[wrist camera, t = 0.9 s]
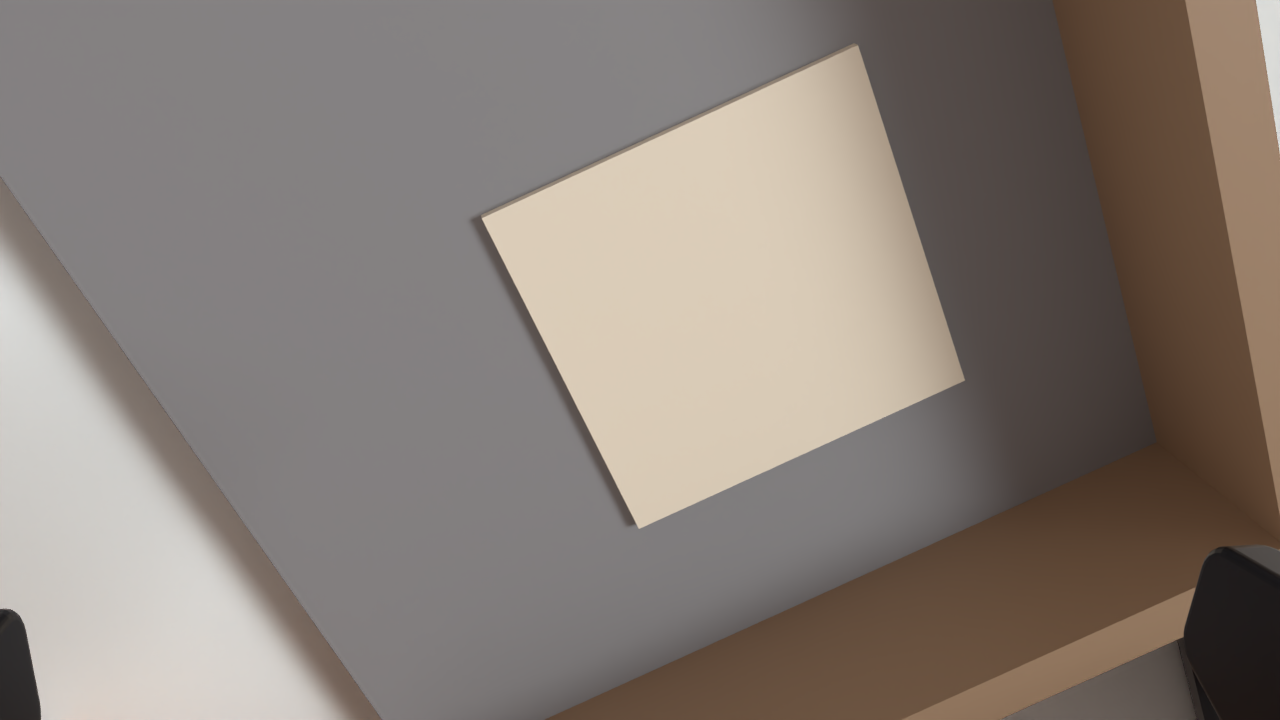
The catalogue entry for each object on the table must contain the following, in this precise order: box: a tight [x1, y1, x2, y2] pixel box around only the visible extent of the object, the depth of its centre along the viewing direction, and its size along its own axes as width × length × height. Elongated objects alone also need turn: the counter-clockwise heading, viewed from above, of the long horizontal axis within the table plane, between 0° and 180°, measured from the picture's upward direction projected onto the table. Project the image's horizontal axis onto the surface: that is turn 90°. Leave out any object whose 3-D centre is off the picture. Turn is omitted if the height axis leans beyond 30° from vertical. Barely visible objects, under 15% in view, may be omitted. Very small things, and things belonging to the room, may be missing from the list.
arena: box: [0, 0, 1280, 720], centre depth 19 cm, size 18×18×5 cm
